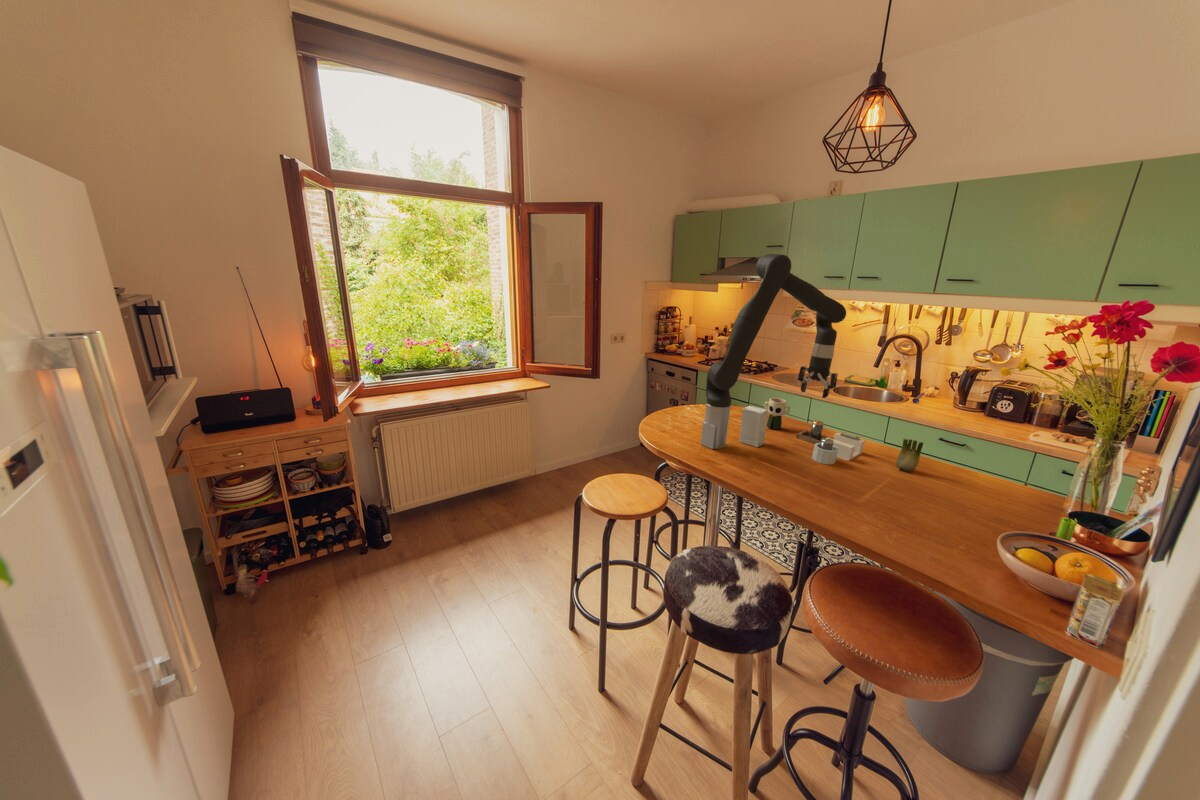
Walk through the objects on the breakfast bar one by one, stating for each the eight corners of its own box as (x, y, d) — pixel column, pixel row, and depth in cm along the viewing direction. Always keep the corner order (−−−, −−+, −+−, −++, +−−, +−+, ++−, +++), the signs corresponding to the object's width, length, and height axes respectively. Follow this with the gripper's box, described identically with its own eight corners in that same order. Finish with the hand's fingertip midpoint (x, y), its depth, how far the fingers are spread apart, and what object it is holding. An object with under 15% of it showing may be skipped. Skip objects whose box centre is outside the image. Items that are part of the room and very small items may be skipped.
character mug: (758, 426, 193) (762, 399, 189) (764, 422, 198) (768, 395, 194) (783, 433, 186) (788, 404, 182) (788, 428, 192) (793, 401, 188)
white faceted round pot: (828, 468, 155) (832, 453, 153) (808, 460, 160) (811, 446, 159) (838, 462, 159) (841, 448, 157) (817, 455, 165) (820, 441, 163)
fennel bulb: (916, 472, 154) (925, 441, 150) (910, 475, 152) (918, 443, 148) (899, 465, 159) (907, 435, 155) (892, 468, 156) (900, 438, 153)
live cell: (817, 442, 175) (821, 423, 172) (807, 439, 178) (811, 420, 175) (821, 440, 177) (825, 421, 175) (812, 437, 180) (815, 418, 178)
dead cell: (826, 463, 157) (831, 441, 154) (815, 459, 160) (819, 438, 157) (831, 460, 159) (835, 439, 157) (820, 456, 162) (824, 435, 160)
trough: (824, 449, 171) (826, 443, 170) (795, 439, 180) (796, 433, 179) (833, 444, 175) (834, 439, 175) (804, 435, 184) (805, 430, 184)
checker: (848, 462, 160) (852, 445, 157) (821, 453, 167) (824, 436, 165) (861, 454, 167) (865, 438, 165) (835, 446, 174) (838, 430, 172)
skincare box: (764, 444, 174) (769, 409, 169) (757, 448, 170) (762, 413, 165) (745, 438, 180) (749, 404, 175) (737, 441, 176) (742, 407, 171)
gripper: (799, 352, 170) (792, 391, 175) (836, 359, 160) (827, 401, 165) (808, 351, 175) (801, 389, 180) (845, 358, 164) (835, 398, 169)
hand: (813, 394), depth 172 cm, fingers open, 8 cm apart
